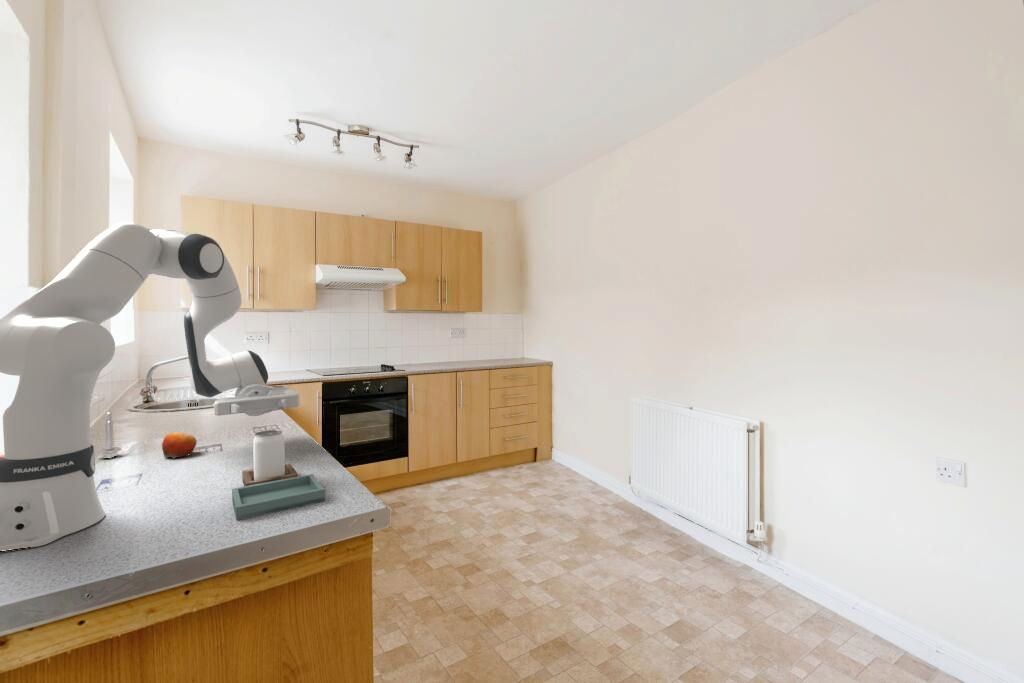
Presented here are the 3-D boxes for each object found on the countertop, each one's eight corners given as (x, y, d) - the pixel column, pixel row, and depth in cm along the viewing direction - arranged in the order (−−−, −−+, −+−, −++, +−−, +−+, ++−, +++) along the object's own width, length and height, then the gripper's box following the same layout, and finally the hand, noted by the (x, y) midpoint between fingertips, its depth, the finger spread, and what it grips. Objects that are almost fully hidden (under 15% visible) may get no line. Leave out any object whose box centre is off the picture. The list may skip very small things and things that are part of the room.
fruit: (147, 456, 123) (161, 428, 127) (171, 463, 130) (184, 436, 134) (170, 458, 121) (184, 429, 125) (194, 465, 128) (206, 437, 132)
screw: (120, 458, 127) (97, 461, 124) (122, 454, 130) (100, 457, 128) (118, 412, 126) (95, 414, 123) (120, 409, 130) (98, 411, 127)
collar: (246, 494, 99) (246, 483, 99) (242, 481, 107) (242, 471, 107) (298, 484, 105) (298, 474, 105) (290, 472, 113) (290, 463, 113)
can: (272, 489, 102) (270, 436, 102) (247, 487, 103) (245, 435, 103) (291, 479, 108) (290, 430, 108) (268, 477, 110) (266, 429, 109)
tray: (236, 520, 86) (236, 507, 86) (232, 500, 96) (231, 488, 95) (325, 500, 95) (324, 489, 95) (312, 484, 105) (312, 473, 105)
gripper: (211, 392, 122) (212, 400, 111) (293, 385, 134) (302, 391, 123) (212, 415, 122) (214, 425, 111) (294, 406, 134) (303, 414, 123)
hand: (261, 407), depth 117 cm, fingers open, 8 cm apart
